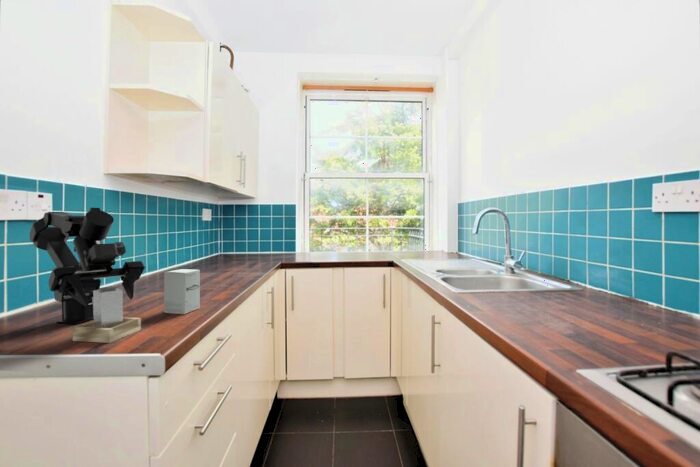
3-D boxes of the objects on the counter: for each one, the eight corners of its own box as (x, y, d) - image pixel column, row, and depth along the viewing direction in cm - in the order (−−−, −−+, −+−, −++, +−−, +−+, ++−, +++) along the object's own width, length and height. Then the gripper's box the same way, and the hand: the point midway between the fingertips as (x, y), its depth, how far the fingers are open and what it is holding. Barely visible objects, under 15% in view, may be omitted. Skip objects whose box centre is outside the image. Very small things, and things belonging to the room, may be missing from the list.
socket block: (93, 331, 80) (93, 287, 80) (115, 326, 84) (114, 285, 83) (101, 335, 78) (100, 290, 77) (123, 330, 81) (122, 287, 81)
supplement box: (185, 314, 99) (184, 272, 98) (163, 313, 100) (163, 271, 100) (200, 308, 106) (200, 269, 105) (180, 307, 107) (180, 268, 107)
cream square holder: (72, 340, 77) (72, 327, 76) (107, 327, 86) (107, 316, 86) (109, 342, 75) (109, 329, 75) (141, 329, 85) (140, 318, 85)
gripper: (51, 232, 74) (69, 287, 69) (141, 231, 90) (162, 275, 84) (41, 264, 79) (57, 318, 73) (128, 257, 94) (147, 301, 89)
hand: (110, 301), depth 80 cm, fingers open, 9 cm apart
